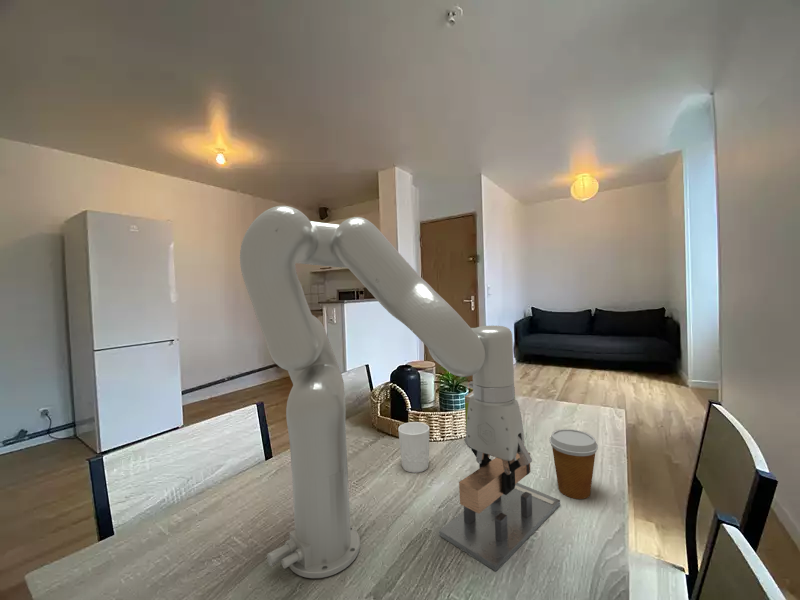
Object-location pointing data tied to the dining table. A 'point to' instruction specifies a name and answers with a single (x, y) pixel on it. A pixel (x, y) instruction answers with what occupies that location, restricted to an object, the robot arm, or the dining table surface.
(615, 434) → the dining table surface
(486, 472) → the wooden beam
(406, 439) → the white cup
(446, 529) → the plate
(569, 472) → the disposable coffee cup
